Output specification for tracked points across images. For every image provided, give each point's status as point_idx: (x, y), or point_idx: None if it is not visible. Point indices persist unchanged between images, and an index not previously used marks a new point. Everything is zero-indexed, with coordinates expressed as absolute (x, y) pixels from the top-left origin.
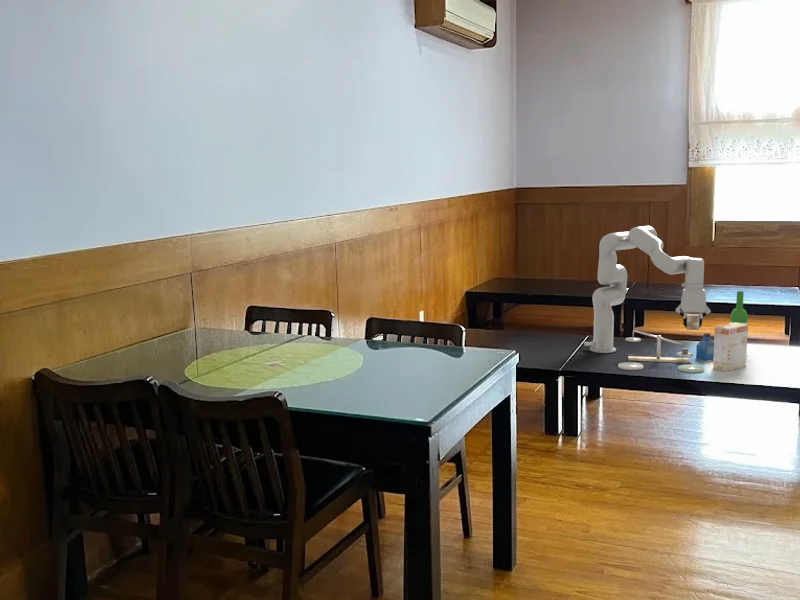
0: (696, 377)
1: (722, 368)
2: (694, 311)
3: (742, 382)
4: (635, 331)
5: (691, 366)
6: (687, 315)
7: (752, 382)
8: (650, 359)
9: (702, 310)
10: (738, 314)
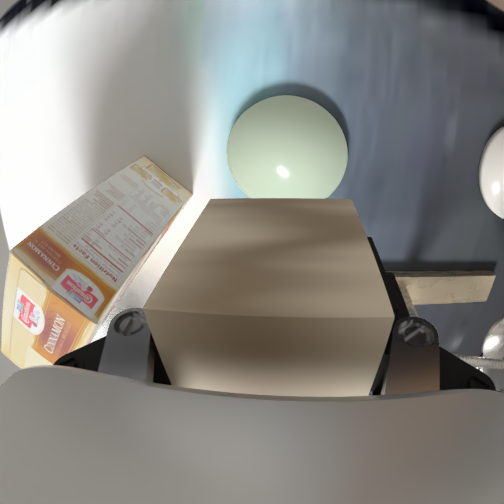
0: (271, 16)
1: (152, 167)
2: (224, 408)
3: (96, 8)
4: None
5: (284, 177)
6: (369, 371)
7: (67, 26)
8: (431, 275)
9: (31, 390)
10: None
